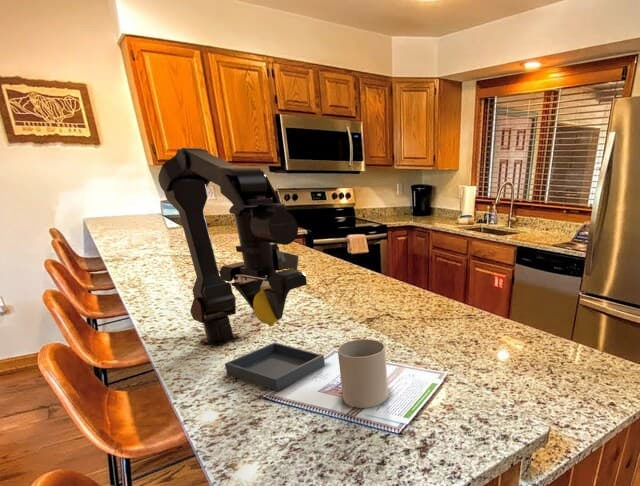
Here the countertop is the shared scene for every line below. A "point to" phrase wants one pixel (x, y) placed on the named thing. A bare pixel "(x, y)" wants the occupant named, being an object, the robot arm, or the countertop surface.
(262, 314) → the lemon
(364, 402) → the cup
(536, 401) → the countertop surface
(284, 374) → the tray
